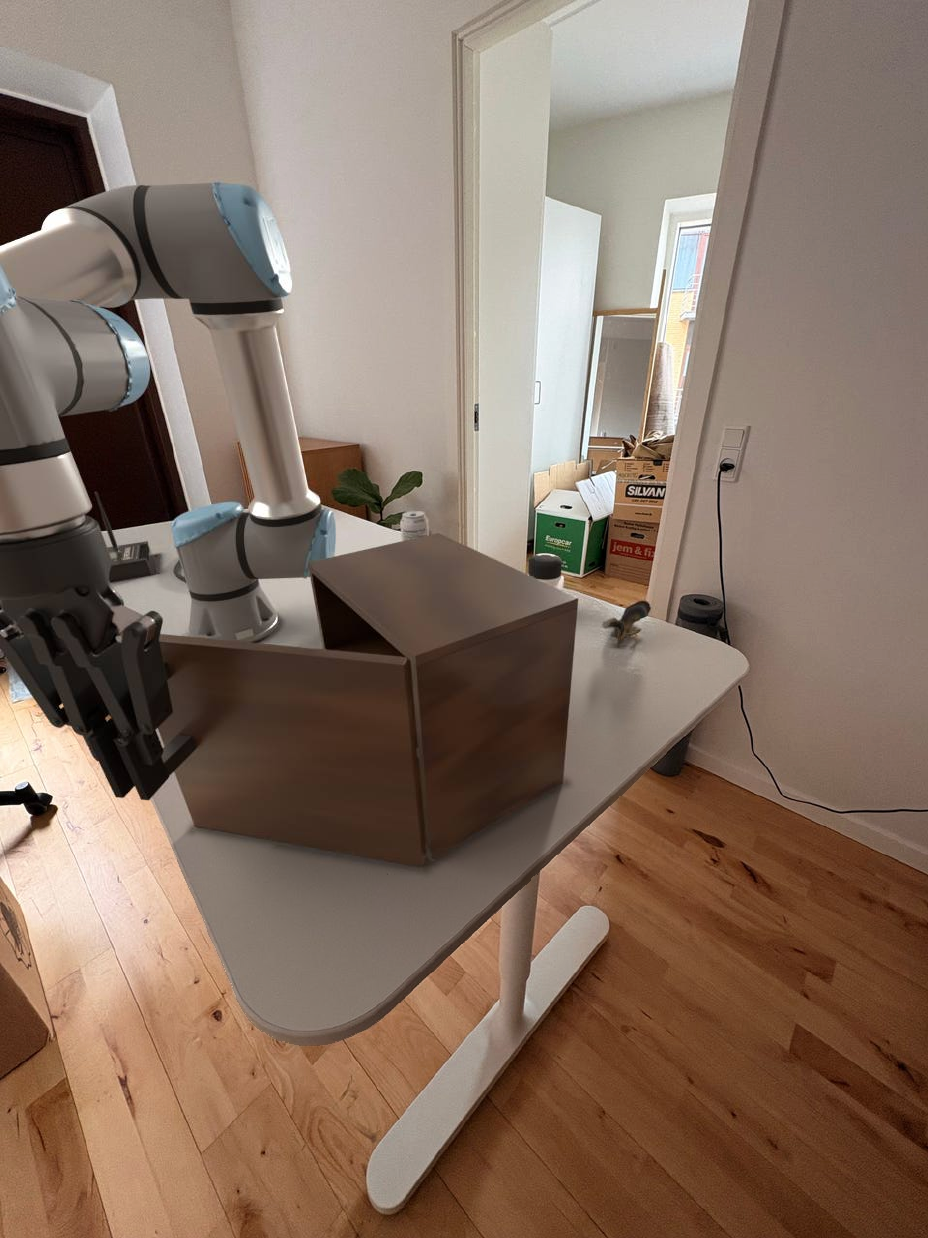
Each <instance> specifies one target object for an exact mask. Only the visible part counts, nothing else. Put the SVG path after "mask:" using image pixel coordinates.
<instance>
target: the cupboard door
mask: <svg viewBox="0 0 928 1238" xmlns="http://www.w3.org/2000/svg"><path fill="white" fill-rule="evenodd" d="M159 641H160V646H161V651H162V657H163V662H164V667H165V672H166V677H167V683H168V688H169V693H170V698H171V703H172V708H173V713H172V714H171V715H170V716H169V717H168V718H167V719H166V720H165V721H164V722H163V723H162V724H161V725H160V726H159V727H158V728H157V730H158V733H159V736H160V739H161V742H162V744H163V755H162V756H161V757H162V760H163V762H164V765H165V767H166V770H167V772H168V775H169V777H170V776H171V775H173V774H174V775H175V779H176V781H177V784H178V786H179V789H180V792H181V794H182V796H183V799H184V801H185V805H186V807H187V810H188V813H189V815H190V817H191V820H192V823H193V826H194V827H198V828H203V829H209V830H214V831H220V832H225V833H230V834H236V835H241V836H248V837H253V838H258V839H262V840H263V839H264V840H269V841H276V842H279V843H286V844H292V845H297V846H303V847H308V848H314V849H320V850H324V851H331V852H336V853H340V854H341V853H342V854H346V855H352V856H358V857H363V858H368V859H373V860H374V859H375V860H379V861H386V862H391V863H396V864H402V865H408V866H412V867H413V866H414V867H418V868H423V867H424V865H425V861H426V859H427V855H426V854H427V853H426V852H427V851H426V850H425V841H424V830H423V819H422V807H421V796H420V785H419V774H418V762H417V751H416V740H415V729H414V718H413V706H412V695H411V684H410V673H409V662H408V657H398V656H388V655H377V654H367V653H356V652H346V651H335V650H325V649H323V648H314V647H313V648H312V647H302V646H293V645H292V646H291V645H281V644H271V643H270V644H269V643H261V642H254V643H251V642H241V641H230V640H219V639H209V638H198V637H191V636H187V635H177V634H166V633H160V637H159ZM105 706H106V704H105ZM106 708H107V706H106ZM107 710H108V708H107ZM108 713H109V718H111V720H112V722H113V724H114V727H115V729H116V731H117V734H118V736H119V735H120V734H121V733H120V731H119V729H118V727H117V725H116V723H115V721H114V720H113V718H112V716H111V714H110V712H109V710H108Z"/></svg>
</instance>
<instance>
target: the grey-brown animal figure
mask: <svg viewBox="0 0 928 1238" xmlns="http://www.w3.org/2000/svg"><path fill="white" fill-rule="evenodd" d="M651 609H652V607H651V604H650V602H648V600H638V601H636V602H635V603H633V604H631V605H629V606H627V607H626V608H625V609H624V611H623V614H622V615H621V618H620V619H617V618H616V617H610V618H608V619H605V620H603V621H602V623H601V627H602V628H603V629H610V628H613V629H614V630H615V632H616V633H615V634H614V633H613V634H611V635H610V636H611V637H613V638H616V643H615V647H616V648H618V647H619V646H620V645H621V644H623V643H624V641H625V640H626V639H627V638H628V637H631V638H632V639H634V640H635V641H636V642H638V634H639V633H640V632H641V631H642V628H638V629H637V626H634V624H635V623H637V622H640V621H641V620H642V619H645V618H647V617H649V613H650V612H651ZM633 628H634V629H635V630H634V629H633Z"/></svg>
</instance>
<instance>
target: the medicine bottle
mask: <svg viewBox="0 0 928 1238" xmlns="http://www.w3.org/2000/svg"><path fill="white" fill-rule="evenodd" d="M562 566H563V560H562V558H560V556H558V555H555V554H552V553H538V554H534V555H532V556H531V557H530V558H529V559H528V568H527V569H528V570H527V571H528V572H527V573H526V574H527V575H529V576H532V577H534V578H536V579H538V580H540V581H542V582H544V583H547V584H549V585H551V586H553V587H555V588H557V589H559V590H562V591H564V584H565V577H564V575H562Z"/></svg>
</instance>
